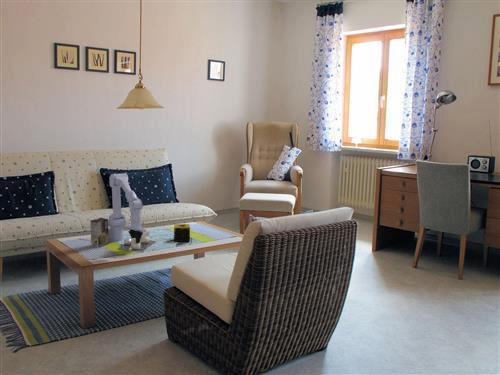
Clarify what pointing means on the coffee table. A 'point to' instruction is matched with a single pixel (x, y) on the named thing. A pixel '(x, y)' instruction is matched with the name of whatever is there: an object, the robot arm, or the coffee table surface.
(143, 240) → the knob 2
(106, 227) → the coffee box
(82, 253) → the coffee table surface
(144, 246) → the levelling base
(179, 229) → the candle
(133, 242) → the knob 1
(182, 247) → the coffee table surface
